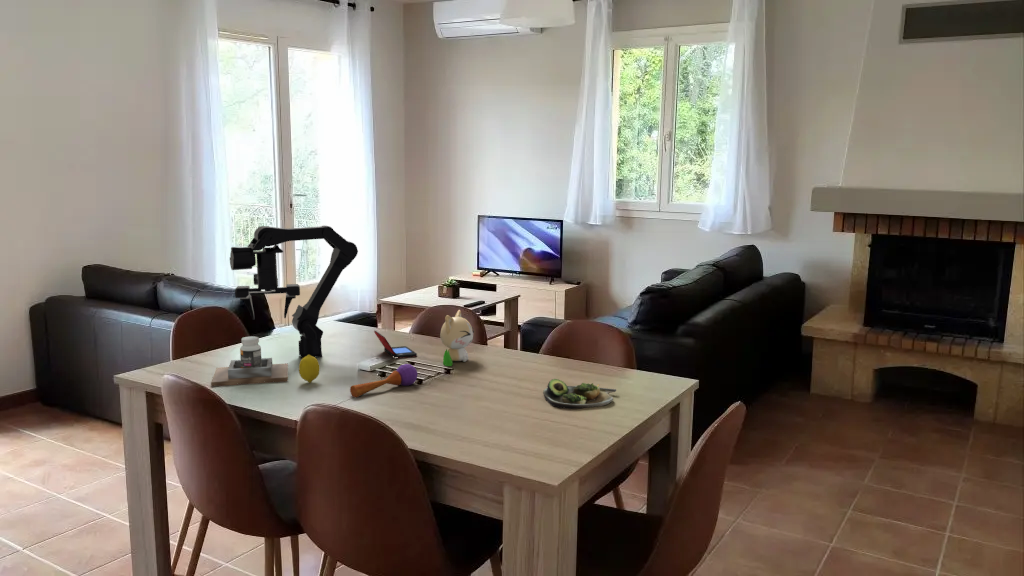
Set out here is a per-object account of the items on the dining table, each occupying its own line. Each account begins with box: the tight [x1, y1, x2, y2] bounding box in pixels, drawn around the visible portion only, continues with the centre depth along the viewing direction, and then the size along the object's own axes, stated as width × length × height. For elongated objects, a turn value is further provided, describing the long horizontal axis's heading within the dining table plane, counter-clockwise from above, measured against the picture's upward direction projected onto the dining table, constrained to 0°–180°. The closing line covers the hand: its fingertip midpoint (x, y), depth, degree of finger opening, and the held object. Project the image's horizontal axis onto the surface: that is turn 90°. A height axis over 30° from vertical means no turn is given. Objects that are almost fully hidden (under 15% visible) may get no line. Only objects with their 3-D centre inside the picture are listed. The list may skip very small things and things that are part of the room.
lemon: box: [298, 355, 321, 384], centre depth 223 cm, size 6×6×8 cm
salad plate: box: [542, 378, 617, 410], centre depth 209 cm, size 19×18×5 cm
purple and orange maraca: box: [349, 363, 418, 399], centre depth 216 cm, size 6×6×20 cm
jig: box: [210, 357, 289, 387], centre depth 229 cm, size 20×16×4 cm
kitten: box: [439, 309, 475, 367], centre depth 247 cm, size 15×10×15 cm
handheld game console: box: [373, 330, 418, 359], centre depth 256 cm, size 12×11×7 cm
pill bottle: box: [239, 335, 262, 368], centre depth 229 cm, size 6×6×10 cm
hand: (269, 318), depth 246 cm, fingers open, 9 cm apart
